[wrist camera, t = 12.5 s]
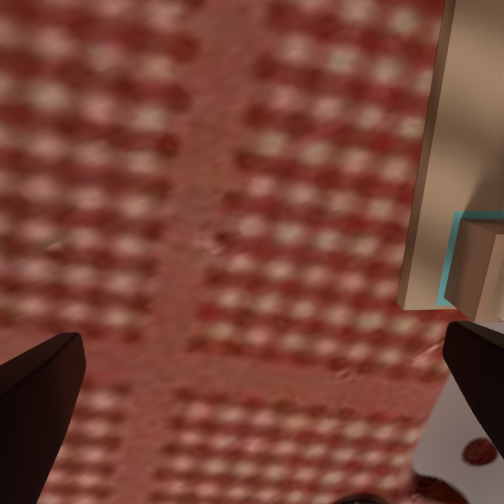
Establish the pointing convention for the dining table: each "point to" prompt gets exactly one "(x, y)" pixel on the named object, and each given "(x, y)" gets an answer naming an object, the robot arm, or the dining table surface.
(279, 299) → the dining table surface
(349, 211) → the dining table surface
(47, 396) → the robot arm
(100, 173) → the dining table surface
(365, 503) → the compass
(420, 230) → the board with turquoise patch
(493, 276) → the knob-topped square post
